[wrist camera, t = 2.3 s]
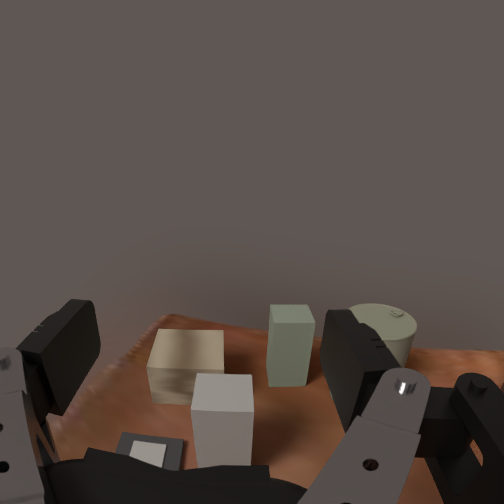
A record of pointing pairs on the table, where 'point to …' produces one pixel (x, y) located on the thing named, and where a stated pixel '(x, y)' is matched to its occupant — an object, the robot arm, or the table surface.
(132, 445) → the card
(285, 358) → the sage block
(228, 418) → the grey block
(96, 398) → the table surface
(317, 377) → the table surface
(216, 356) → the base block
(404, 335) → the can
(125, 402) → the table surface
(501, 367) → the table surface
